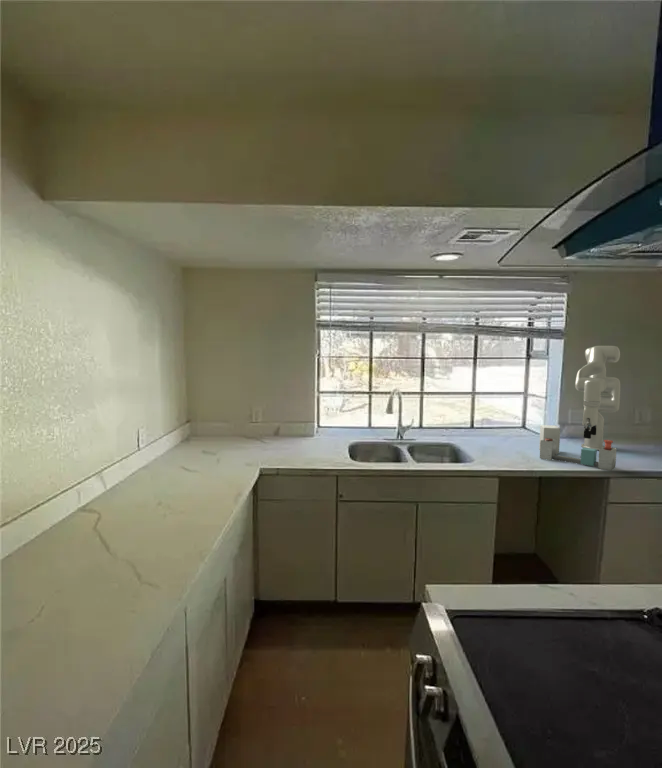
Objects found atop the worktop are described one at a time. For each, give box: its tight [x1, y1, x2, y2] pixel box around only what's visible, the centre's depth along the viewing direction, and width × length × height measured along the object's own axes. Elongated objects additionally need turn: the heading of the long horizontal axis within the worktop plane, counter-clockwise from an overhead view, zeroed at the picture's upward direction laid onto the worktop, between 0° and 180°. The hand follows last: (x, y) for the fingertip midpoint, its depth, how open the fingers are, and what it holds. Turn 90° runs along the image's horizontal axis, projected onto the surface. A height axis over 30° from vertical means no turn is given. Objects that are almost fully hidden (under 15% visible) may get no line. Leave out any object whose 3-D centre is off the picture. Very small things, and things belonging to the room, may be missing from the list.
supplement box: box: [538, 424, 561, 455], centre depth 268 cm, size 9×9×15 cm
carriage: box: [580, 447, 598, 467], centre depth 242 cm, size 5×6×8 cm
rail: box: [553, 454, 598, 468], centre depth 246 cm, size 3×22×2 cm, turn 47°
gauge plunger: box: [603, 439, 614, 450], centre depth 235 cm, size 4×4×5 cm
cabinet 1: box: [539, 438, 557, 461], centre depth 255 cm, size 8×6×11 cm
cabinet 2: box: [597, 445, 617, 471], centre depth 236 cm, size 8×6×10 cm
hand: (589, 436), depth 241 cm, fingers open, 9 cm apart
